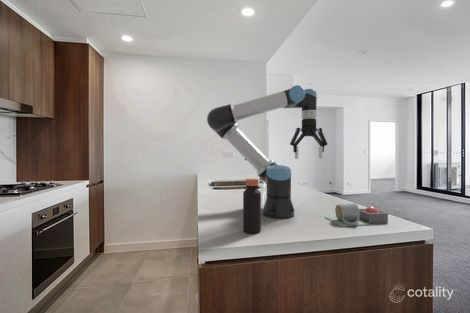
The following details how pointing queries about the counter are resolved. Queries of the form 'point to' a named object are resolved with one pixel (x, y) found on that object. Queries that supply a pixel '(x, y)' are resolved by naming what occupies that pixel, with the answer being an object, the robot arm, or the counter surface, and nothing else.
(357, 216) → the ceramic mug
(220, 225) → the counter surface
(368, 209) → the red dome
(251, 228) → the bottle
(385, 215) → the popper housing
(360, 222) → the sage square
